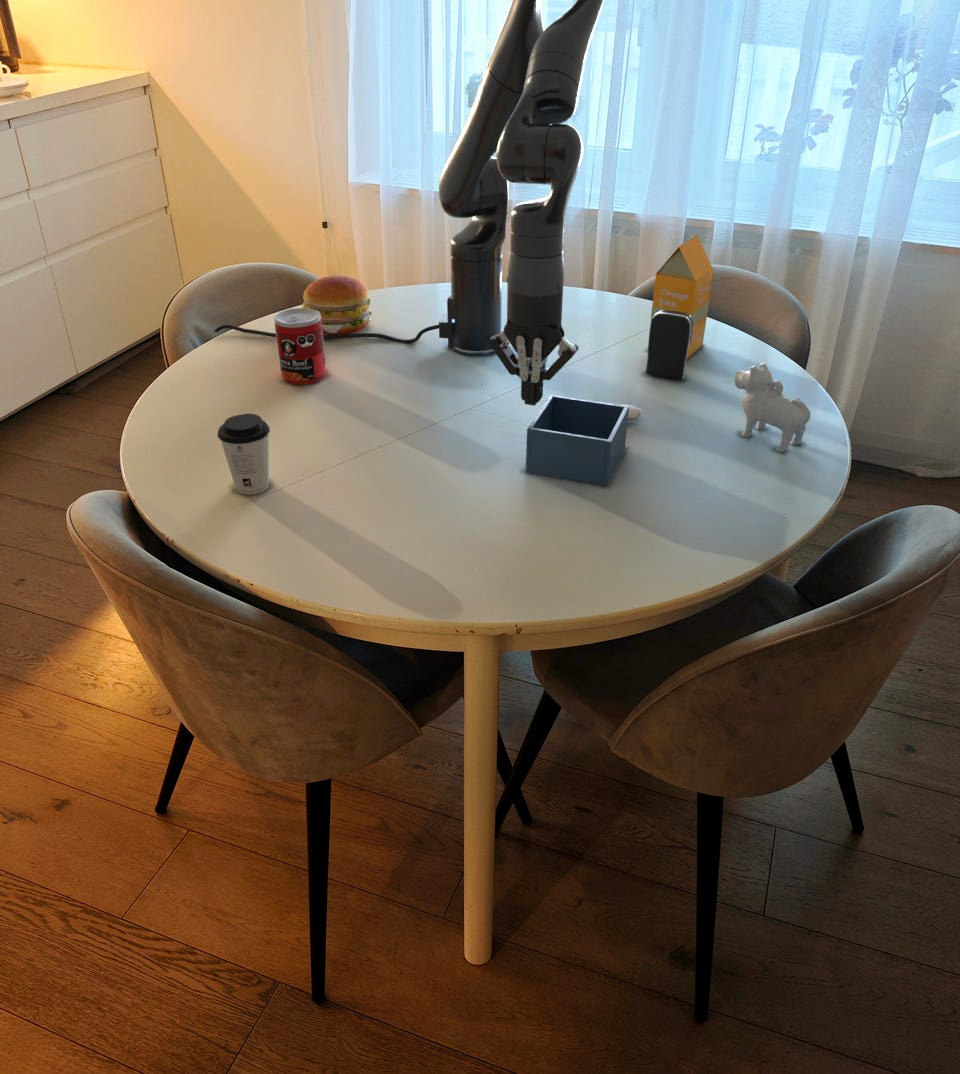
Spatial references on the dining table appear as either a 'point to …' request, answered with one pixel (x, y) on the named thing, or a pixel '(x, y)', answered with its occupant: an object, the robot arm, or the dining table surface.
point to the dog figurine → (771, 406)
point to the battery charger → (669, 344)
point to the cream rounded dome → (633, 413)
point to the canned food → (300, 345)
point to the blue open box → (577, 439)
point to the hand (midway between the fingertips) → (531, 402)
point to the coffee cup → (246, 452)
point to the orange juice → (686, 287)
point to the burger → (339, 304)
